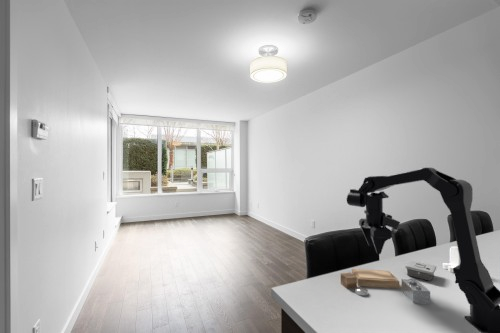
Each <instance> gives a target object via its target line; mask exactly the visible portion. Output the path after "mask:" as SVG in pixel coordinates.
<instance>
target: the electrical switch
mask: <svg viewBox="0 0 500 333" xmlns="http://www.w3.org/2000/svg"><path fill="white" fill-rule="evenodd" d="M404 268H405V269H406V271H407V273H406V275H407V276H410V277H413V278H417V279H421V280H424V281H425V280H426V281H430V282H431V281H432V279H433V278H434V276H435V275H434V274H435V272H436V271H437V265H435V264H430V263H426V262H421V261H417V260H412V259H409V260H408V261H407V262H406V264H405V265H404Z"/></svg>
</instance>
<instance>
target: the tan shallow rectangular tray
mask: <svg viewBox="0 0 500 333" xmlns="http://www.w3.org/2000/svg"><path fill="white" fill-rule="evenodd" d="M351 273H352V274H353V275H354V276H356V277H357V287H373V288H387V289H388V288H389V289H400V280H399V279H398V278H397V277H396V276H395V275H394V274H393V273H392V272H391V271H389V270H375V269H361V268H360V269H359V268H352V269H351Z"/></svg>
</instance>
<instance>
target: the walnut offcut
mask: <svg viewBox="0 0 500 333" xmlns="http://www.w3.org/2000/svg"><path fill="white" fill-rule="evenodd" d="M340 285H341V286H343V287H344V288H345V289H347V290H348V289H355V288H356V287H358V284H357V277H356V276H354V275H353V274H352V272H341V273H340Z"/></svg>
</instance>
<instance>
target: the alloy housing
mask: <svg viewBox="0 0 500 333" xmlns="http://www.w3.org/2000/svg"><path fill="white" fill-rule="evenodd" d="M401 292H402V293H403V294H404V296H406V297H407V299H408V300H410V302H411V303H412V304H420V305H421V304H422V305H423V304H424V305H431V290H429V289H428V288H427V287H426V286H424V285H423V284H422V283H421V282H420V281H419V280H418V279H414V278H408V279H407V278H405V279H404V278H401Z"/></svg>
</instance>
